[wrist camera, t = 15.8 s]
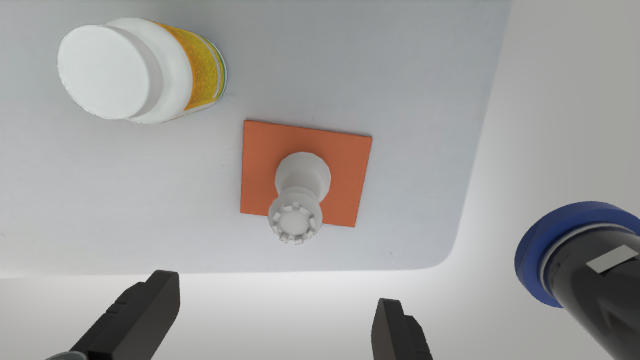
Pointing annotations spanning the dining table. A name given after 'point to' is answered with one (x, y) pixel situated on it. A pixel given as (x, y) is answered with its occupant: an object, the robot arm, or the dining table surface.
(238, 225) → the dining table surface
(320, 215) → the rook chess piece
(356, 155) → the mat
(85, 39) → the supplement bottle
